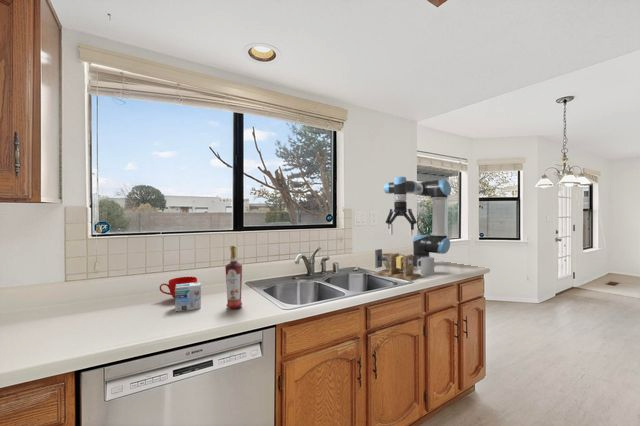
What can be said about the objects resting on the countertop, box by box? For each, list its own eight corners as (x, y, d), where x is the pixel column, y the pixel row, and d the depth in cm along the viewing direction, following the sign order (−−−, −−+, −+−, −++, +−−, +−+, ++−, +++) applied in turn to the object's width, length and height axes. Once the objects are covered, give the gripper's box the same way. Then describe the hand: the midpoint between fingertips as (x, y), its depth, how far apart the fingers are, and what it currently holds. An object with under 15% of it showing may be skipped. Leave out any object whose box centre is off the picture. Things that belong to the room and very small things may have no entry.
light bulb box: (175, 312, 130) (174, 287, 130) (175, 307, 136) (175, 284, 136) (201, 308, 134) (201, 284, 134) (200, 304, 140) (200, 281, 140)
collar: (405, 266, 195) (405, 256, 195) (400, 268, 190) (400, 257, 189) (401, 266, 197) (401, 255, 197) (396, 268, 192) (396, 257, 192)
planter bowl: (409, 270, 213) (409, 254, 213) (394, 273, 204) (393, 257, 204) (392, 266, 226) (392, 252, 226) (377, 269, 217) (376, 254, 217)
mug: (436, 274, 199) (436, 257, 199) (429, 275, 193) (429, 258, 193) (421, 271, 208) (420, 255, 208) (413, 273, 203) (413, 256, 203)
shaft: (414, 270, 190) (414, 252, 190) (409, 272, 186) (409, 253, 186) (380, 266, 207) (379, 249, 207) (375, 267, 203) (375, 249, 203)
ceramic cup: (160, 298, 150) (160, 279, 150) (197, 294, 157) (196, 275, 157) (158, 306, 139) (158, 284, 138) (197, 301, 146) (197, 280, 145)
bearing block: (420, 276, 191) (420, 254, 191) (410, 280, 181) (410, 257, 181) (385, 271, 209) (385, 251, 209) (374, 274, 199) (373, 253, 199)
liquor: (244, 304, 139) (243, 244, 138) (240, 310, 131) (239, 246, 131) (228, 305, 138) (227, 244, 138) (223, 310, 131) (222, 246, 131)
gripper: (380, 201, 195) (380, 234, 195) (416, 200, 178) (417, 236, 179) (385, 201, 201) (386, 233, 201) (421, 200, 184) (422, 235, 184)
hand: (400, 234), depth 190 cm, fingers open, 13 cm apart
